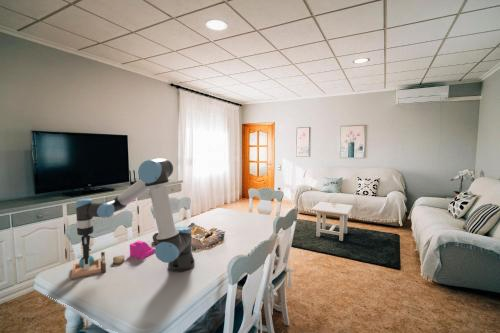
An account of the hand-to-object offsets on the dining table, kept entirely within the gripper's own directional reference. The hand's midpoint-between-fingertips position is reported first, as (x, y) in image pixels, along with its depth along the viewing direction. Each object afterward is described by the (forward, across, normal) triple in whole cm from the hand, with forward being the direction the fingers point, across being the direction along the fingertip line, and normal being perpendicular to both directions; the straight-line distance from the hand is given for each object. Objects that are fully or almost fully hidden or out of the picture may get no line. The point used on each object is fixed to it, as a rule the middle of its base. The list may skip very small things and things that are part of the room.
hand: (87, 265), depth 137 cm
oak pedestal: (+3, +2, -16) cm, 16 cm away
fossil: (+3, +22, -44) cm, 50 cm away
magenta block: (+3, +7, -31) cm, 31 cm away
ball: (-2, 0, 0) cm, 2 cm away
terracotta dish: (+3, 0, 0) cm, 3 cm away
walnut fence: (+3, +1, -8) cm, 9 cm away
